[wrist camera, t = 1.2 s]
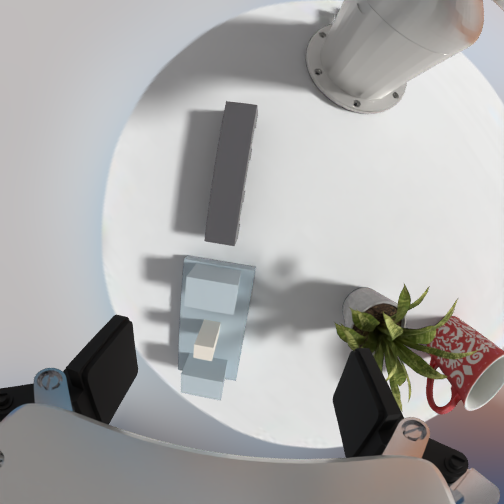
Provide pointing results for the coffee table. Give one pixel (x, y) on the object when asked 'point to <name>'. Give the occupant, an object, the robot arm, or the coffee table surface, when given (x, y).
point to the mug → (466, 366)
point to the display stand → (212, 323)
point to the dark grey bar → (230, 173)
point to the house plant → (391, 335)
